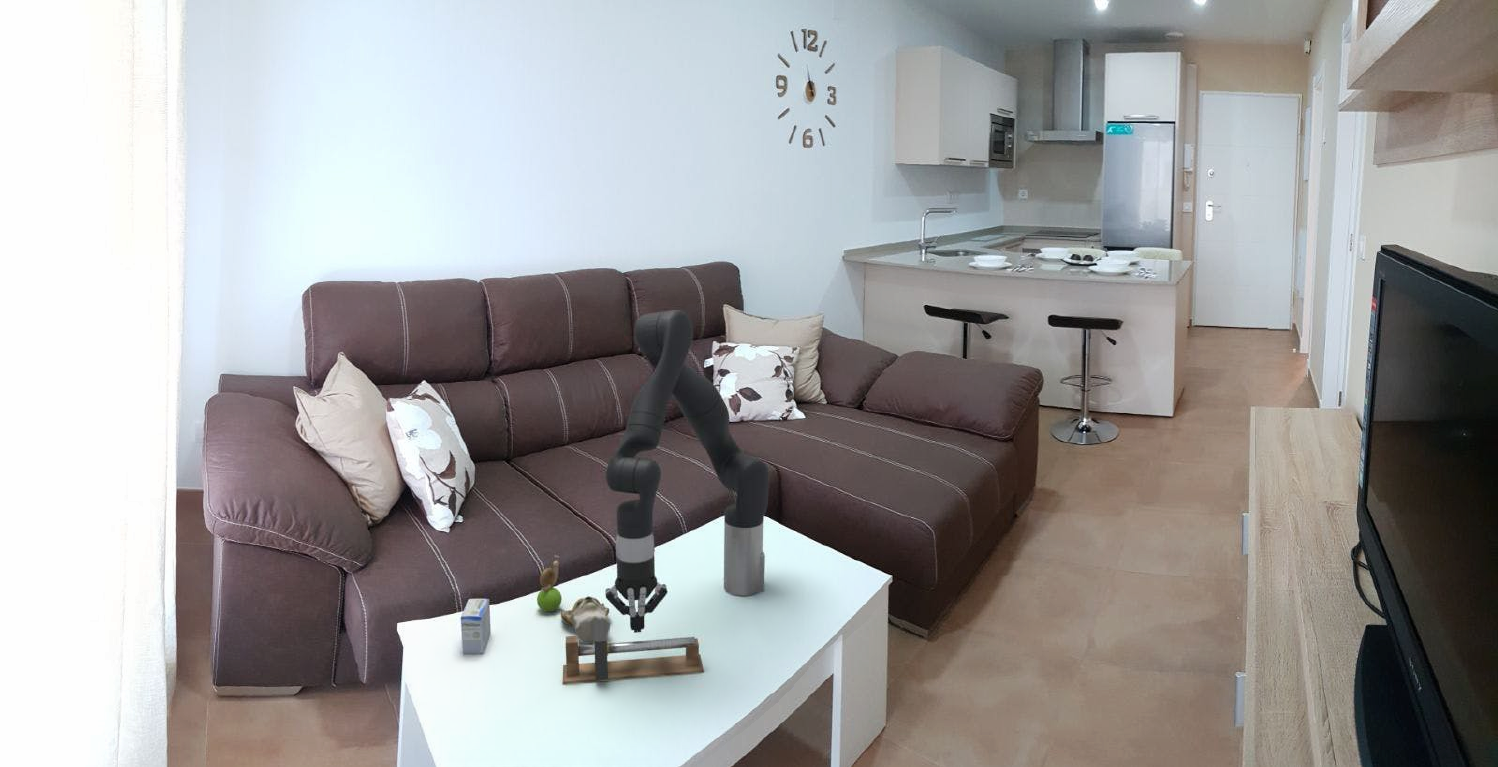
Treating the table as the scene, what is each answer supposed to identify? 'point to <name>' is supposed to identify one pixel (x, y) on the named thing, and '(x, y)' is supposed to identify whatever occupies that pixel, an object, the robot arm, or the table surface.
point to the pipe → (639, 646)
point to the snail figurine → (549, 589)
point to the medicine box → (475, 626)
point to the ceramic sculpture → (586, 617)
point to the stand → (630, 665)
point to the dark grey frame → (600, 649)
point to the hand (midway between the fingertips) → (637, 630)
